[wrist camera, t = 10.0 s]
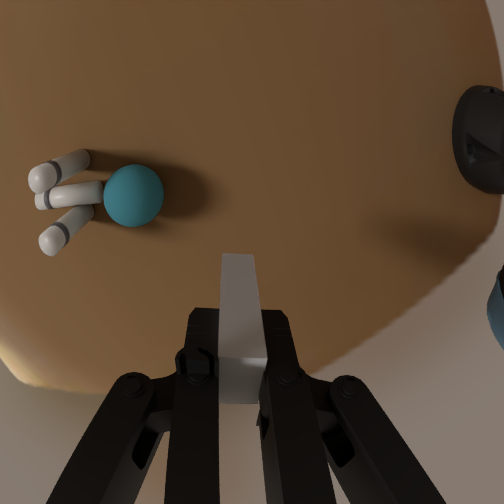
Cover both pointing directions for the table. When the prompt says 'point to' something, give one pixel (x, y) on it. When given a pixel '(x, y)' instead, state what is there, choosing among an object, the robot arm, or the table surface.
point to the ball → (133, 195)
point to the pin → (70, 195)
